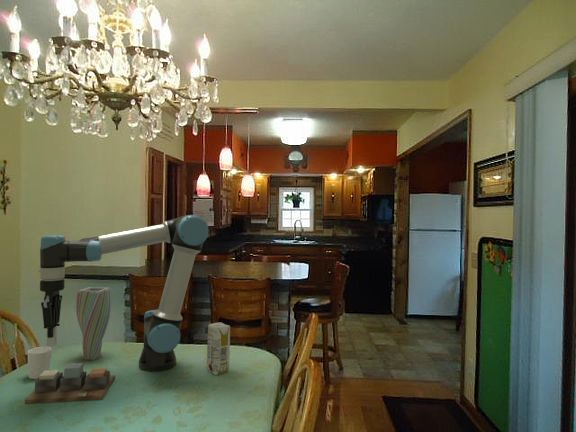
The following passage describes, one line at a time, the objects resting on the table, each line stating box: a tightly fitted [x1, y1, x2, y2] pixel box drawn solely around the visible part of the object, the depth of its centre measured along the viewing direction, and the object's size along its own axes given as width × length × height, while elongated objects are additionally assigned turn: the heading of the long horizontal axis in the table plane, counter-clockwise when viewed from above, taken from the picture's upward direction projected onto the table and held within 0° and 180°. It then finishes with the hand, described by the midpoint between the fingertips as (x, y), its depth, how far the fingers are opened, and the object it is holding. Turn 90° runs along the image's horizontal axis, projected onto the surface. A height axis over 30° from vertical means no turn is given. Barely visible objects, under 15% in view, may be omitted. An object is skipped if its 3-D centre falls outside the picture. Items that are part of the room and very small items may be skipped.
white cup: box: [27, 346, 52, 380], centre depth 155 cm, size 8×8×10 cm
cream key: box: [39, 369, 60, 380], centre depth 142 cm, size 5×5×5 cm
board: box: [24, 370, 116, 404], centre depth 144 cm, size 24×18×5 cm
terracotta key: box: [88, 367, 108, 378], centre depth 145 cm, size 5×5×5 cm
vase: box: [75, 286, 112, 361], centre depth 177 cm, size 14×14×30 cm
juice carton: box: [206, 322, 231, 376], centre depth 165 cm, size 8×9×19 cm
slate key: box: [63, 362, 84, 379], centre depth 144 cm, size 5×5×5 cm
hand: (51, 345), depth 142 cm, fingers closed
